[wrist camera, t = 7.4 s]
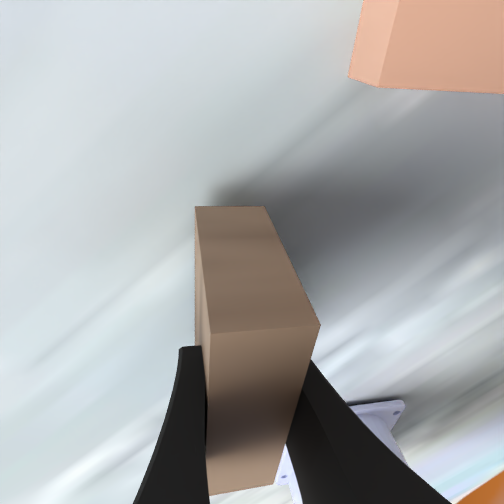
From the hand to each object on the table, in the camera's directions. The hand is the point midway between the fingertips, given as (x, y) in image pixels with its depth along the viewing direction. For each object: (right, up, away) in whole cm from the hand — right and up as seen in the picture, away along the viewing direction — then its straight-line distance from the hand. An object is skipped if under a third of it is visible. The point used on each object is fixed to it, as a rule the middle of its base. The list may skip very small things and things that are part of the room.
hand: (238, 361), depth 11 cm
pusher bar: (-1, +2, +3) cm, 3 cm away
